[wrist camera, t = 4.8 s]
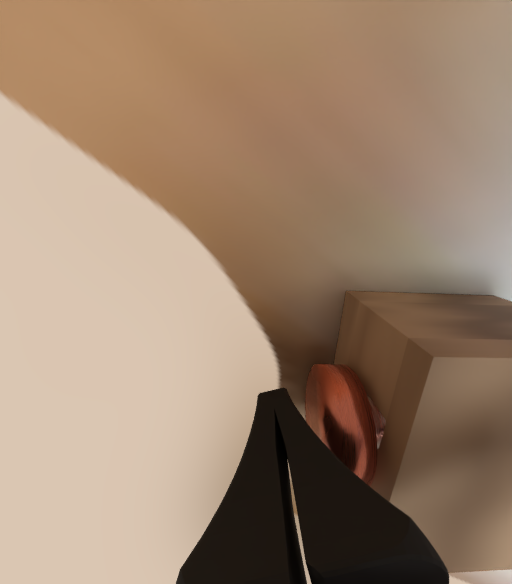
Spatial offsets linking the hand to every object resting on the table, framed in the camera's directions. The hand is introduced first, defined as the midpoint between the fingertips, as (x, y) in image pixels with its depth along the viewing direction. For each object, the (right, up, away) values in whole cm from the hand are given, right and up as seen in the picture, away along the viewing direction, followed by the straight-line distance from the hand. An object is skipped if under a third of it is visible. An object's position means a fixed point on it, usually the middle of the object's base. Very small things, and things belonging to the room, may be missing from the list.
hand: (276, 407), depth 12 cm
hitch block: (+7, +1, +3) cm, 8 cm away
